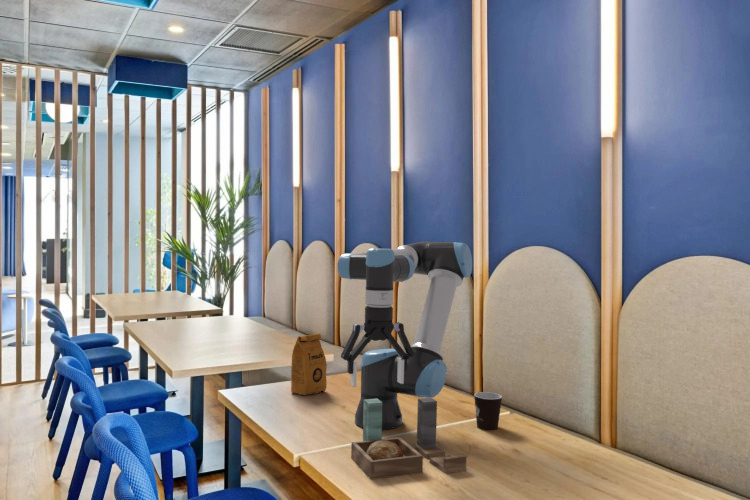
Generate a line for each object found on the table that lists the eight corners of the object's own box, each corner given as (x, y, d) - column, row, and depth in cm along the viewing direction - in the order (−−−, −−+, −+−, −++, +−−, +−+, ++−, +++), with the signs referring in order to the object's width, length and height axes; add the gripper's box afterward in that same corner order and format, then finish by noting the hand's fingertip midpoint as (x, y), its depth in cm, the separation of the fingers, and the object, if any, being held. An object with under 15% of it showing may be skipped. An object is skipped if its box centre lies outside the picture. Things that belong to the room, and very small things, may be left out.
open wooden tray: (345, 451, 168) (346, 401, 168) (392, 446, 173) (393, 397, 173) (370, 479, 150) (371, 422, 149) (422, 472, 155) (423, 417, 154)
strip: (429, 462, 161) (430, 449, 161) (449, 459, 164) (449, 446, 164) (445, 473, 154) (446, 459, 154) (465, 470, 157) (466, 456, 157)
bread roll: (364, 475, 162) (352, 450, 160) (393, 452, 167) (382, 427, 165) (384, 486, 153) (372, 460, 151) (414, 462, 158) (403, 436, 156)
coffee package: (330, 392, 231) (331, 334, 230) (303, 398, 222) (304, 337, 222) (313, 387, 238) (314, 331, 238) (287, 392, 230) (288, 334, 229)
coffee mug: (501, 432, 188) (502, 400, 187) (472, 430, 189) (473, 398, 189) (501, 421, 199) (502, 390, 199) (474, 419, 201) (475, 389, 200)
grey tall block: (413, 448, 172) (414, 398, 172) (432, 446, 174) (433, 397, 174) (425, 458, 165) (426, 406, 164) (445, 455, 167) (446, 404, 166)
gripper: (338, 308, 157) (337, 390, 157) (427, 306, 166) (425, 384, 166) (330, 304, 164) (328, 383, 165) (415, 303, 173) (413, 378, 173)
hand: (377, 384), depth 165 cm, fingers open, 13 cm apart
